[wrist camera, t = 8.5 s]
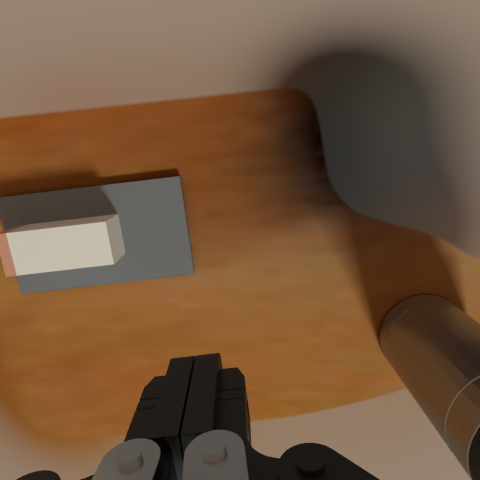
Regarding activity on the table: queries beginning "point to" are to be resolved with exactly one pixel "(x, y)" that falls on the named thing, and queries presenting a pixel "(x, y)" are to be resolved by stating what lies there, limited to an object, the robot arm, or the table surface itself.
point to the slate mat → (131, 222)
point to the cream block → (61, 245)
